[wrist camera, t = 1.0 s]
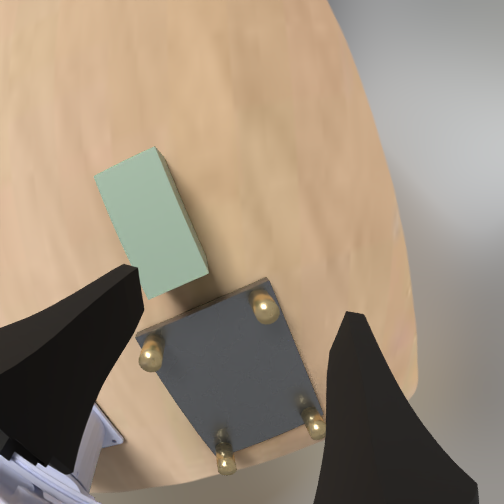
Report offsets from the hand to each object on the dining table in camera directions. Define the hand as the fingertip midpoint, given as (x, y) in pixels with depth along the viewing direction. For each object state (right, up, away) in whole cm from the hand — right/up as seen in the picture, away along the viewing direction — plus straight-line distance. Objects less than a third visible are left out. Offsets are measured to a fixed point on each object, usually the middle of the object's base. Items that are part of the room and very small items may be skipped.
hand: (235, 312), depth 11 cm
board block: (-6, +4, +12) cm, 14 cm away
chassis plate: (-1, -9, +15) cm, 17 cm away
